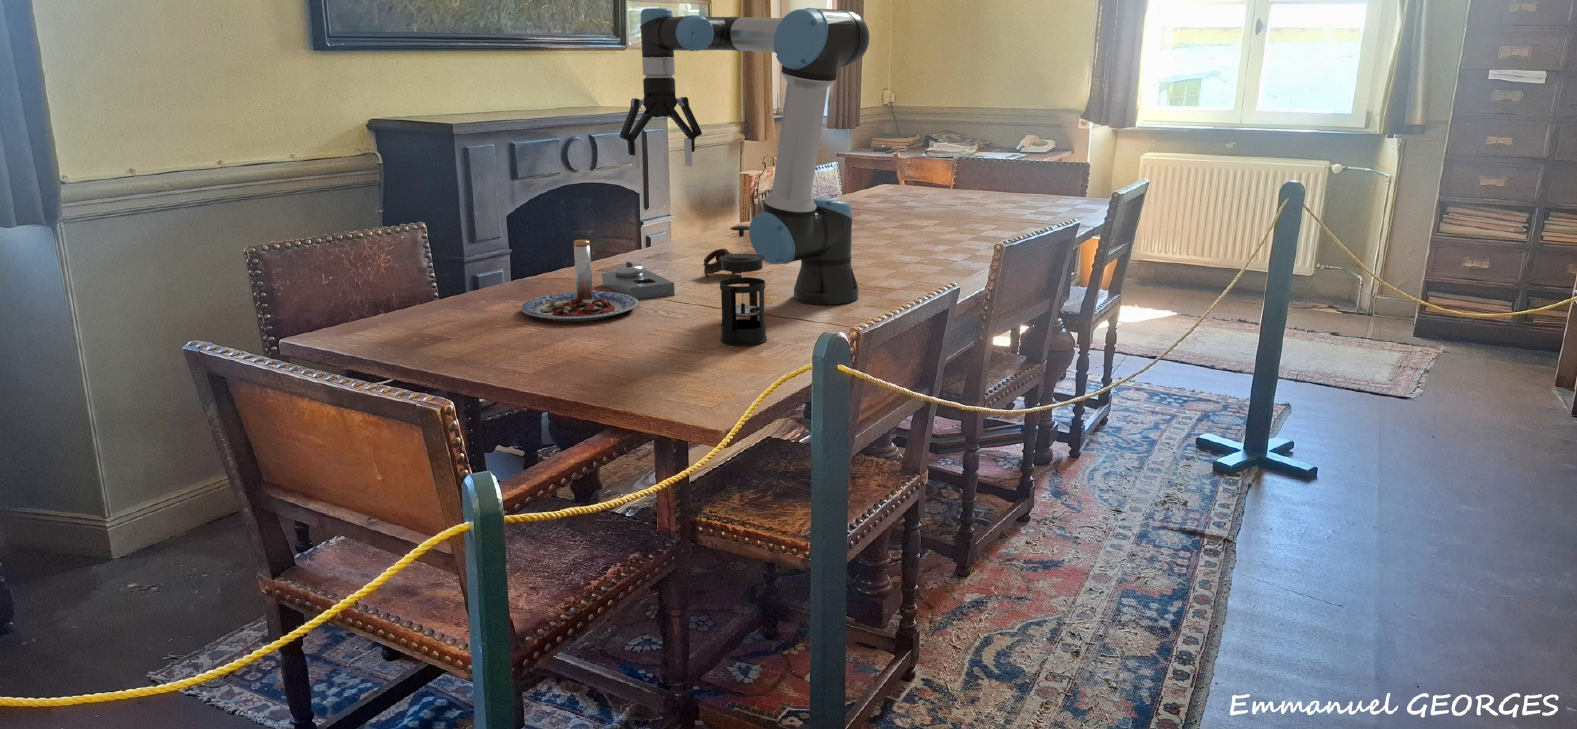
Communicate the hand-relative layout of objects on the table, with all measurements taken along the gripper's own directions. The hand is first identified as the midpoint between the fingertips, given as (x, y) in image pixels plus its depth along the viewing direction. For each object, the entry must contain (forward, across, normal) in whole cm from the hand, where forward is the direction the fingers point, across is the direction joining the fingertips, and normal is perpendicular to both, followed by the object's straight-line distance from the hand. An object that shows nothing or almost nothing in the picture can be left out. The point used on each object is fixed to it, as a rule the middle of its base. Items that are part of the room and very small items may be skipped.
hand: (662, 167), depth 263 cm
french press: (+29, +8, +59) cm, 66 cm away
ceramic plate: (+29, +28, +18) cm, 44 cm away
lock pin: (+26, +27, +16) cm, 41 cm away
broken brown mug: (+29, -16, -2) cm, 33 cm away
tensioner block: (+29, +9, +3) cm, 30 cm away
